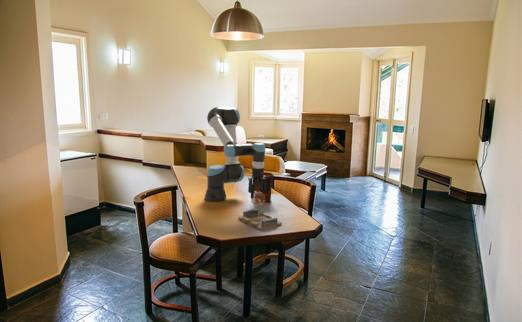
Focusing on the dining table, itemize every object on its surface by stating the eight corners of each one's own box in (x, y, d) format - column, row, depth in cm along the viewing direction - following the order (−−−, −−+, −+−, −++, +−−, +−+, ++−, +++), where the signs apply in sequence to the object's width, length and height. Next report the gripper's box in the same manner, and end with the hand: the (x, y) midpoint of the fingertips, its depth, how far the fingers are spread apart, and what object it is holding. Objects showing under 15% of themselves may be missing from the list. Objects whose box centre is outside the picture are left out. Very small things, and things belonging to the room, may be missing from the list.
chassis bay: (238, 219, 216) (238, 212, 215) (259, 214, 225) (259, 207, 225) (259, 230, 199) (260, 222, 199) (281, 225, 209) (282, 217, 208)
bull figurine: (250, 199, 240) (251, 187, 238) (266, 204, 231) (267, 192, 230) (246, 200, 237) (247, 188, 235) (261, 206, 228) (262, 193, 226)
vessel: (248, 199, 256) (249, 171, 253) (265, 197, 263) (267, 171, 259) (257, 205, 244) (259, 176, 240) (275, 203, 250) (277, 175, 247)
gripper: (250, 170, 221) (248, 206, 225) (272, 167, 232) (270, 201, 236) (243, 167, 227) (241, 202, 231) (265, 164, 237) (263, 198, 242)
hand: (256, 202), depth 234 cm, fingers closed on bull figurine, 5 cm apart
